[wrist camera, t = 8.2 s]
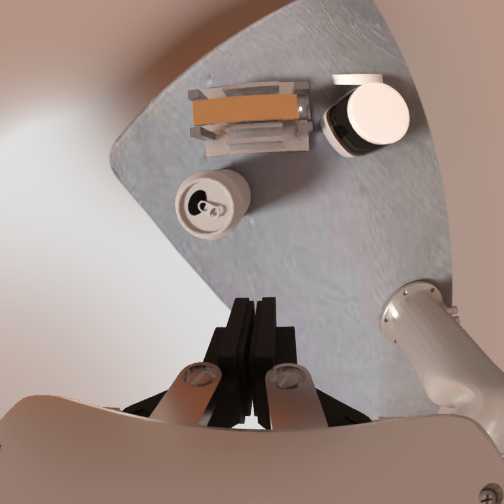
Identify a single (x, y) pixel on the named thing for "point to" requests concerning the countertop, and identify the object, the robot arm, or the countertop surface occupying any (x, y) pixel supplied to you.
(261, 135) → the gray slatted rack
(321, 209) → the countertop surface
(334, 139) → the spread jar
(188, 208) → the can
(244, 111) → the orange brown bar
